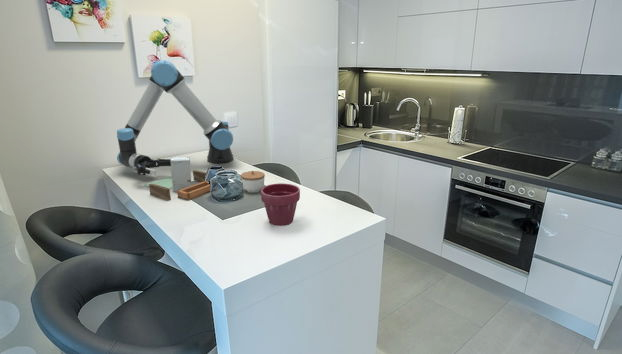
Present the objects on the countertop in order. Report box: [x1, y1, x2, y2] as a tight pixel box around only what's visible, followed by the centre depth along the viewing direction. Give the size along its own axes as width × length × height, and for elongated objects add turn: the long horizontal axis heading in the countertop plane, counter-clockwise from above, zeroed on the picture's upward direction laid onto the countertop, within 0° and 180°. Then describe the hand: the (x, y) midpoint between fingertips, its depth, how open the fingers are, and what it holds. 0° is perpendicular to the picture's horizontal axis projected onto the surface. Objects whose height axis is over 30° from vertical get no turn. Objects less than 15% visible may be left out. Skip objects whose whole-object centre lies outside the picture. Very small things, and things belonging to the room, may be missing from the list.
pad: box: [144, 176, 173, 190], centre depth 168 cm, size 14×14×1 cm
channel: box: [148, 169, 207, 201], centre depth 161 cm, size 26×12×5 cm, turn 148°
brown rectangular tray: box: [177, 181, 211, 201], centre depth 157 cm, size 16×6×3 cm, turn 148°
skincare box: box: [170, 156, 193, 193], centre depth 159 cm, size 8×6×15 cm
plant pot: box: [260, 183, 301, 227], centre depth 129 cm, size 14×14×13 cm
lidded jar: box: [240, 170, 266, 193], centre depth 160 cm, size 11×11×9 cm
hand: (168, 169), depth 164 cm, fingers open, 13 cm apart
